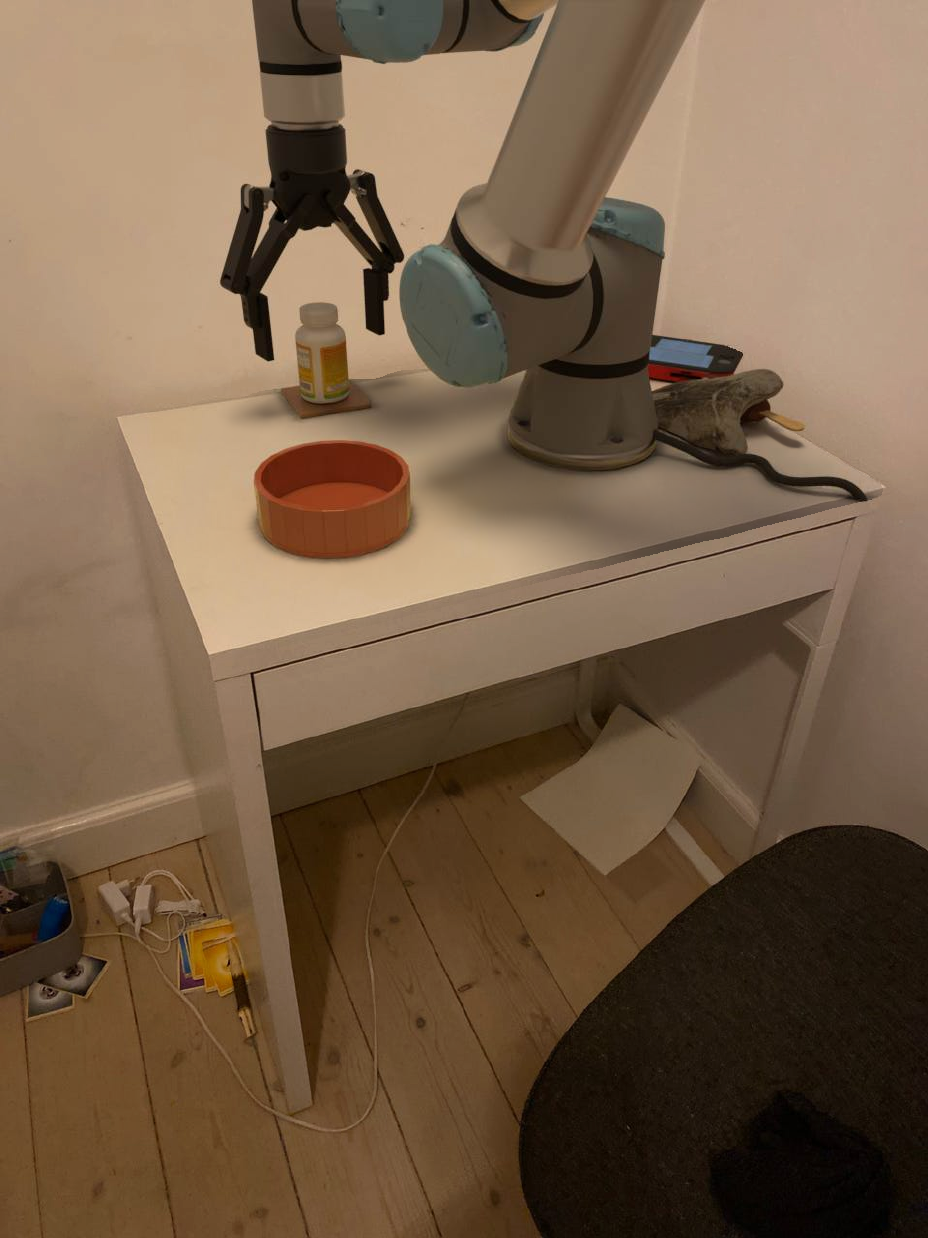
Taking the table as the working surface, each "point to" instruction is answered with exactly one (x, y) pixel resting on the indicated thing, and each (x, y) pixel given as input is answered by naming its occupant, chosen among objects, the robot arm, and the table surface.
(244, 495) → the table surface
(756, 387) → the fossil
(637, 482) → the table surface
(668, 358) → the game console
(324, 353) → the supplement bottle
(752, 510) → the table surface
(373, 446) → the terracotta planter dish
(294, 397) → the coaster
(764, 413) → the ice cream bar
